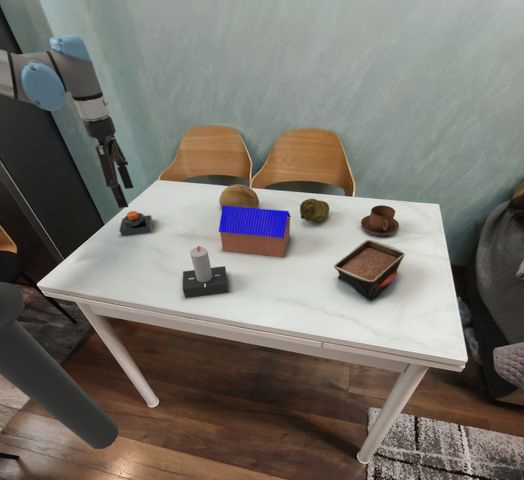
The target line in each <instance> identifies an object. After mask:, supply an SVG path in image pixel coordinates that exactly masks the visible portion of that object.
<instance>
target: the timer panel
mask: <svg viewBox="0 0 524 480" xmlns="http://www.w3.org/2000/svg"><path fill="white" fill-rule="evenodd" d="M211 271H212V279H211V280H209V281H207V282H200V281H198V280H197V278H196V274H195V270H194V269H191V270H183V271H182V291H183V295H184V298H186V299H188V298H195V297H196V298H197V297H203V296H210V295H218V294H224V293H229V291H230V290H229V283H228V275H227V270H226V266H225V265H223V266H216V267H215V266H213V267H211Z"/></svg>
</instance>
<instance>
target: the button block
mask: <svg viewBox="0 0 524 480" xmlns="http://www.w3.org/2000/svg"><path fill="white" fill-rule="evenodd" d="M138 215H139V218H138V219H137V220H132V221H131V220H129V219H128V216H127V215H125V216H124V217H123V218H122V219H121V223H120V227H119V232H120V234H121V237H123V236H133V235H141V234H150V233H152V229H153V223H154V220H153V217H152V215H151V214H150V215H144V214H143V213H142V212H138Z"/></svg>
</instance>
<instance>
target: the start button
mask: <svg viewBox="0 0 524 480" xmlns="http://www.w3.org/2000/svg"><path fill="white" fill-rule="evenodd" d="M138 213H139V212H138V211H136V210H131V211H129V212H127V213H126V216H128V219H129V220H131V221H132V220H137V219H138V218H139V215H138Z"/></svg>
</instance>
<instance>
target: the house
mask: <svg viewBox="0 0 524 480" xmlns="http://www.w3.org/2000/svg"><path fill="white" fill-rule="evenodd" d="M291 218H292V216H291V213H290V212H289V210H283V209H282V210H281V209H271V208H269V209H268V208H258V207H256V208H245V207H233V206H222V207H221V213H220V218H219V219H220V220H219V227H218V233H220V240H221V247H222V251H223V252H232V253H241V254H249V255H259V256H266V257H267V256H269V257H277V258H283V257H284V254H285V251H286V249H287V246H288V242H289V239H290V232H291V231H290V230H291Z"/></svg>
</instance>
